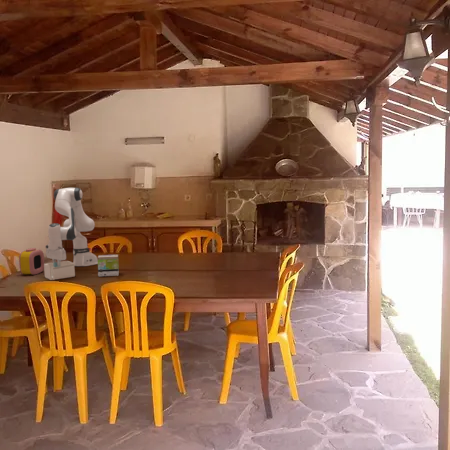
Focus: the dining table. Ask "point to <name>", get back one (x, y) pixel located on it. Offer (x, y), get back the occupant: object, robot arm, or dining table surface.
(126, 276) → the dining table surface
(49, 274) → the carton
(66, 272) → the lid flap
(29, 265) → the alarm clock
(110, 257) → the tea box
